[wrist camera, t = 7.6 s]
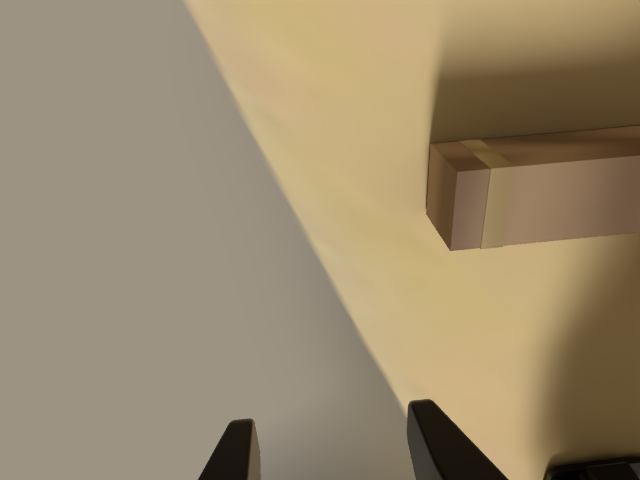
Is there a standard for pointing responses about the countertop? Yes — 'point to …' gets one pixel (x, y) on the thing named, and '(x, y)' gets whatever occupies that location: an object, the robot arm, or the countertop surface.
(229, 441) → the robot arm
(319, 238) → the countertop surface
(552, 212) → the tan long bar
